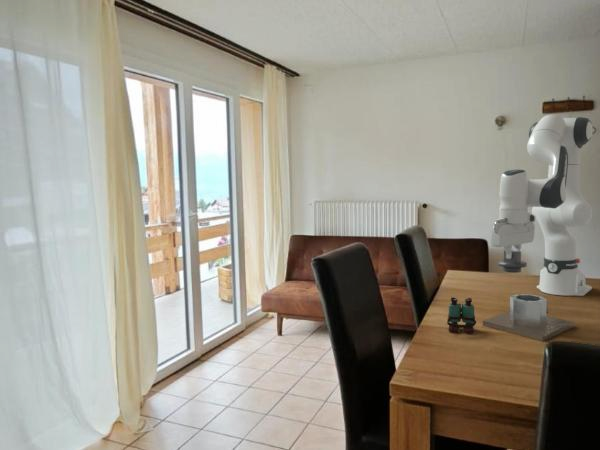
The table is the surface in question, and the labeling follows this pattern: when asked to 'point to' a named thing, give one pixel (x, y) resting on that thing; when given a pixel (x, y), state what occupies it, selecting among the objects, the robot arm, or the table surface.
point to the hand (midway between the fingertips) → (512, 257)
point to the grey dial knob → (512, 262)
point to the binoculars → (456, 315)
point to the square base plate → (529, 318)
